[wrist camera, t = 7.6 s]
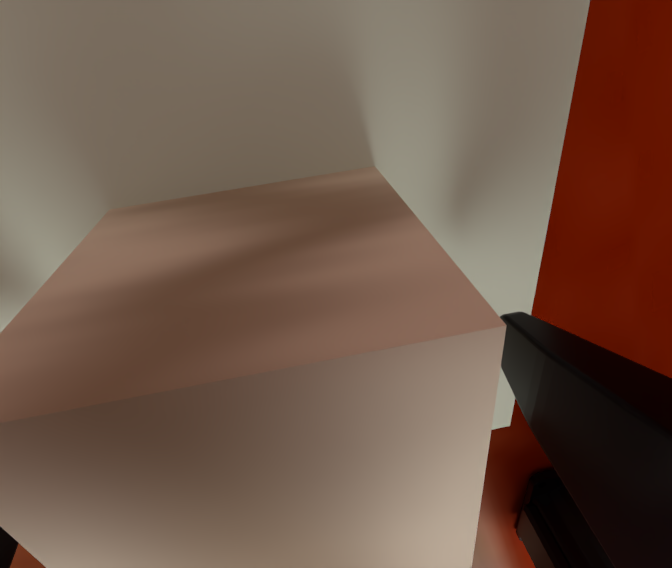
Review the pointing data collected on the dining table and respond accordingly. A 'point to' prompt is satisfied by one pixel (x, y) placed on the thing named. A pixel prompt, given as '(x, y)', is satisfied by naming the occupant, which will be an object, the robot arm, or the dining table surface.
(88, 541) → the maple cube
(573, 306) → the dining table surface
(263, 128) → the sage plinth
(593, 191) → the dining table surface
